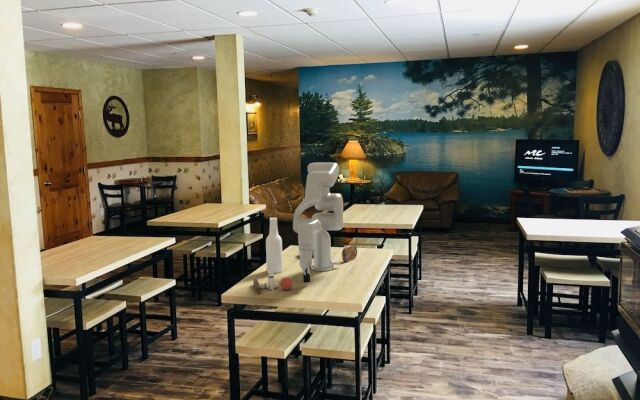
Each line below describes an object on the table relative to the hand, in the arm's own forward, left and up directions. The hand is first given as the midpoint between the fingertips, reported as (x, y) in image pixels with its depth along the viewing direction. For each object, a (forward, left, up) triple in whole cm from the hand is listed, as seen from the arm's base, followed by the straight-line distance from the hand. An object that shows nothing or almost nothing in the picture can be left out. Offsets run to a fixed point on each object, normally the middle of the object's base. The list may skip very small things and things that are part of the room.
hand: (306, 281), depth 269 cm
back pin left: (+18, +3, -2) cm, 18 cm away
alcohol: (+12, -31, -2) cm, 33 cm away
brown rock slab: (-35, -45, -2) cm, 57 cm away
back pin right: (+18, -2, -2) cm, 18 cm away
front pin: (+14, 0, -1) cm, 14 cm away
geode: (-15, -65, -2) cm, 67 cm away
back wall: (+25, 0, -2) cm, 25 cm away
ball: (+11, +5, +1) cm, 12 cm away
